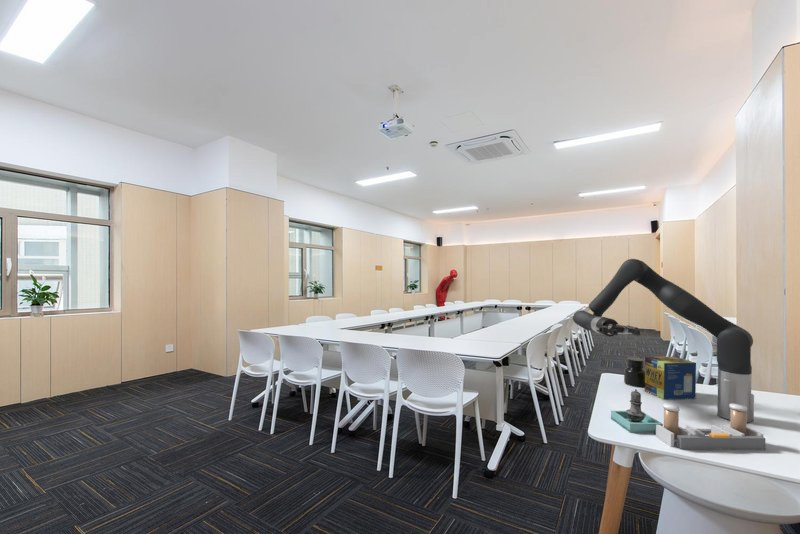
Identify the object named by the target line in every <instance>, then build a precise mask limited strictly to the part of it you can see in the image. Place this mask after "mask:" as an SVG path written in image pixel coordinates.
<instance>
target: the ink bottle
mask: <svg viewBox="0 0 800 534" xmlns="http://www.w3.org/2000/svg"><path fill="white" fill-rule="evenodd" d="M623 375H624V376H623V379H624V380H623V382H624V383H625V384H626V385H629V386H631V387H636V386H637V387H636V388H645V359H643V358H640V357H639V358H638V357H633V356H632V357H630V356H629V357H627V358H626V367H625V368H624V371H623Z"/></svg>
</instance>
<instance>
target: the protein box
mask: <svg viewBox="0 0 800 534" xmlns="http://www.w3.org/2000/svg"><path fill="white" fill-rule="evenodd" d="M644 370H645V387H644V392H646V391H647V392H646V393H648V392H649V393H648V394H650V393H651V394H650V395H653V396H655V397H657V398H660V399H661V398H662V399H661V400H689V399H690V398H692V399H691V400H693V399H694V398H695V399H696V391H697V389H696V385H697V373H696V372H697V362H695V361H691V360H688V359H685V358H683V357H682V358H681V357H678V356H645V358H644ZM685 398H686V399H685ZM687 398H688V399H687ZM695 399H694V400H695Z"/></svg>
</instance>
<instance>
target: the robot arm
mask: <svg viewBox="0 0 800 534" xmlns="http://www.w3.org/2000/svg"><path fill="white" fill-rule="evenodd" d="M633 282H635V283H637V284H640V285H641V286H643V287H644V288H646V289H647V290H649V291H650V292H651V293H652V294H653V295H654V296H655V297H656V298H657V299H658V300H659V301H660V302H661V303H662V304H663V305H664V306H665V307H667V308H668V309H670V310H671V311H673V313H675V314H676V315H678V316H679V317H682V319H685V320H688V321H689V322H691V323H693V324H695V325H697V326H699V327H701V328H703V329H704V330H706V331H707V332H709V333H710V334H711V335H713V336H714V337H715V339H716V362H717V412H716V413H717V416H719V417H721V418H724V419H726V420H729V421H731V416H730V407H729V404H732V403H733V404H740V405H744V406H746V407H747V411H746V417H747V423H750V422H753V421H754V420H755V395H754V394H753V393H752V376H753V375H752V371H753V370H752V361H751V354H752V353H751V351H752V350H751V349H752V346H753V345H754V339H753V336H752V335H751V333H750V332H749V331H747V330H746V329H744V328H743V327H740V326H739V325H737V324H736V323H733V322H732V321H730V320H728V319H726V318H724V317H723V316H721V315H719V314H718V313H717V312H716V311H714V310H713V309H712V308H710V307H709V306H708V305H706V304H705V303H704V302H703V301H701V300H700V299H698V298H697V297H695V296H694V295H693V294H692V293H690V292H689V291H687V290H685V289H684V288H682V287H681V286H679V285H678V284H675V283H674V282H671V281H669V280H668V279H666V278H664V277H663V276H661V275H660V274H658V273H657V272H656V271H655V270H654V269H653V268H651V267H650V266H649V265H648V264H647V263H645V261H643V260H639V259H637V258H636V259H635V258H630V259H626V260H625V261H624V262H623V263H622V264H621V265H620V267H619V269H618V270H617V271H616V273H615V274H614V275H613V277H612V279H611V280H609V282H608V283H607V285H606V286H604V288H603V289H602V290H600V292H599V293H598V294H597V296H596V297H595V298H594V299H593V300H592V301H590V303H589V305H588V308H589V310H590V311H591V312H592V313H590V312H587V311H585V310H576V312H574V314H572V320H573V323H575V324H576V325H577V326H579V327H581V328H582V329H583V330H585V331H588V332H589V331H592V332H595V333H597V334H600V335H603V336H605V337H614V336H618V335H629V334H630V335H634V336H638V337H639V336H640V335H641V330H640V329H639V327H637V326H636V327H635V326H632V325H623V324H619V323H618V322H617V321H616V320H615V319H614V318H610V317H605V316H603V314H604V313H605V312H606V311H607V310H608V309H609V308H611V306H612V305H613V304H614V303H615V301H616V300H617V298H618V297H619V296H620V294H621V292H622V291H623V290H624V289H625V288H626V287H627V286H628V285H630V284H631V283H633Z"/></svg>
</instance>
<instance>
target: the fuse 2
mask: <svg viewBox="0 0 800 534" xmlns="http://www.w3.org/2000/svg"><path fill="white" fill-rule="evenodd" d="M729 407H730V416H731V420H730V427H731V428H733V429H735V430H737V431H739V432H741V433H743V434H745V436H747V427H748V424H747V423H748V422H747V417H746V411H747V407H746V406H744V405H740V404H733V403H732V404H729Z"/></svg>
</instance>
